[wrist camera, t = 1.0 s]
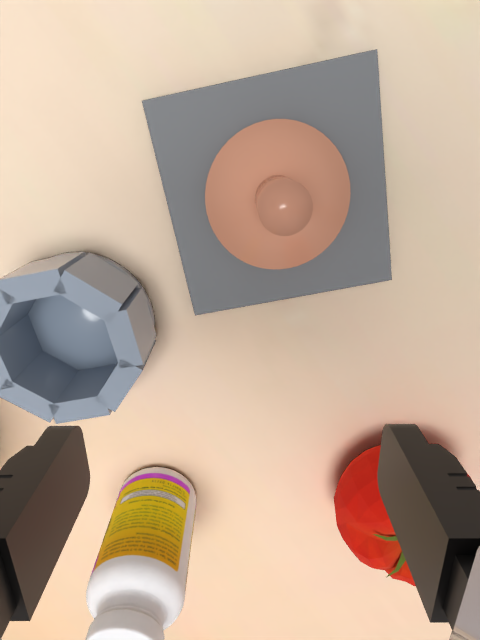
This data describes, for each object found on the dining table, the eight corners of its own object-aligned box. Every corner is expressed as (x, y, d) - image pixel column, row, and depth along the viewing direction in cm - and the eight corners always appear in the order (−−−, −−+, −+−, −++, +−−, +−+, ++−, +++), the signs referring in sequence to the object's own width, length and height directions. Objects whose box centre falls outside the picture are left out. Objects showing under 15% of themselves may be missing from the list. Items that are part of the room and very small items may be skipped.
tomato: (331, 425, 35) (353, 494, 28) (465, 425, 35) (521, 493, 28) (322, 523, 39) (340, 605, 32) (443, 523, 39) (487, 605, 32)
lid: (337, 105, 26) (366, 92, 20) (352, 251, 29) (380, 276, 23) (192, 137, 26) (178, 132, 21) (222, 276, 30) (217, 306, 24)
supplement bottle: (112, 469, 37) (49, 624, 25) (187, 457, 36) (161, 610, 24) (133, 527, 39) (86, 693, 27) (204, 517, 39) (188, 682, 27)
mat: (374, 51, 25) (377, 49, 25) (388, 277, 30) (391, 279, 30) (143, 101, 26) (141, 100, 26) (195, 312, 31) (195, 315, 31)
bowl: (133, 239, 29) (110, 258, 24) (169, 367, 33) (156, 407, 28) (-5, 266, 30) (-55, 290, 25) (46, 388, 34) (11, 431, 28)
